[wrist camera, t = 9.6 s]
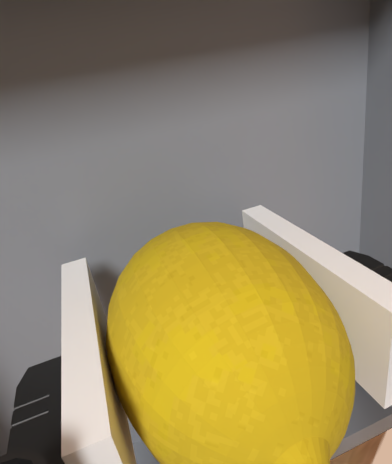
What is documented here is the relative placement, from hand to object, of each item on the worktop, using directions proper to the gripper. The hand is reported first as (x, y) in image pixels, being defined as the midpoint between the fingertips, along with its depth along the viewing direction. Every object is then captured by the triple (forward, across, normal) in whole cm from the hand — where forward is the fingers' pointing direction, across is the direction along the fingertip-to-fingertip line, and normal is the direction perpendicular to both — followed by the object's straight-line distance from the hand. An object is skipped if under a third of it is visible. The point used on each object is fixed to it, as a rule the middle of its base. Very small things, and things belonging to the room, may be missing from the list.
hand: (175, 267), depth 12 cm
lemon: (+1, 0, 0) cm, 1 cm away
